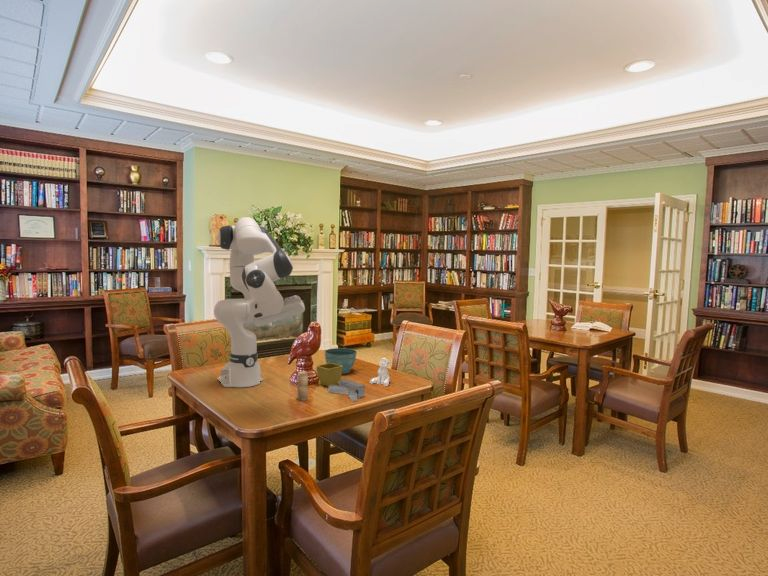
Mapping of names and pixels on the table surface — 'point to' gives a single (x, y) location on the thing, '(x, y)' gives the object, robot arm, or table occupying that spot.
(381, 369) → the sitting furry creature
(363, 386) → the crossed grey wooden bars
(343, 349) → the flower pot
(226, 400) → the table surface
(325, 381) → the flower pot
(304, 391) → the dowel
